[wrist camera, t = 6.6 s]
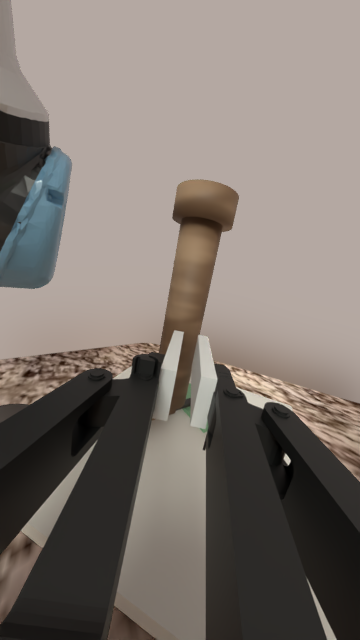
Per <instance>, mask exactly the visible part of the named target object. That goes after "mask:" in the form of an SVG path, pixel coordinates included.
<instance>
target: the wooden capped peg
mask: <svg viewBox="0 0 360 640" xmlns="http://www.w3.org/2000/svg"><path fill="white" fill-rule="evenodd" d="M238 199H239V196H238V194H237V193H236V191H234V190H233V189H231V188H230V187H228V186H226V185H223V184H221V183H218V182H214V181H208V180H188V181H184V182H182V183H180V184H179V185H178V187H177V192H176V198H175V204H174V211H173V220H174V221H176V222H177V223H179V224H181V225H180V231H179V237H178V243H177V249H176V256H175V261H174V267H173V273H172V279H171V285H170V291H169V297H168V302H167V309H166V314H165V321H164V326H163V332H162V338H161V344H160V350H159V354H164V355H166V352H167V349H168V347H169V344H170V341H171V338H172V335H173V333H174V330H176V331H181V332H184V334H183V340H182V345H181V351H180V357H179V362H178V368H177V373H176V379H175V384H174V389H173V394H172V399H171V405H170V410H169V415H171V414H174V413H175V412H176V411H177V410H180V409H183V408H186V407H189V406H191V398H188V399H186V395H187V391H188V386H189V381H190V377H191V372H192V362H193V358H194V353H195V348H196V343H197V338H198V335H200V330H201V325H202V320H203V316H204V311H205V307H206V302H207V298H208V293H209V288H210V284H211V279H212V274H213V270H214V265H215V260H216V255H217V251H218V247H219V242H220V237H221V233H222V232H225V231H229V230H231V229H232V226H233V222H234V217H235V213H236V208H237V204H238ZM27 406H29V405H25V404H8V405H2V406H0V423H1V422H3V421H4V420H6V419H8V418H9V417H11V416H13V415H14V414H16V413H17V412H19V411H21V410H22V409H24V408H26V407H27ZM152 417H153V416H152ZM152 420H155V419H154V418H152Z"/></svg>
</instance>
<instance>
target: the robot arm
mask: <svg viewBox="0 0 360 640" xmlns="http://www.w3.org/2000/svg"><path fill="white" fill-rule="evenodd" d="M71 169H72V162H71V159H70V158H69V157H68V156H67V155H66V154H64V153H63V152H62V151H61V149H60V148H57V147H53V148H51V146H50V139H49V114H48V112H47V110H46V109H45V107H44V106H43V104H42V103H41V101H40V100H39V98H38V96H37V95H36V93H35V92H34V90H33V89H32V87H31V86H30V84H29V83H28V81H27V80H26V78H25V77H24V75H23V74H22V72H21V70H20V66H19V63H18V60H17V56H16V50H15V39H14V28H13V18H12V8H11V0H0V287H13V288H14V287H15V288H29V289H35V288H40V287H42V286H44V285H46V284H48V283H49V282H50V281H51V279H52V277H53V275H54V271H55V266H56V261H57V256H58V250H59V245H60V239H61V234H62V227H63V221H64V216H65V209H66V203H67V197H68V191H69V183H70V175H71ZM183 334H184V332H181V331H176V330H174V333H173V335H172V338H171V341H170V344H169V347H168V349H167V352H166V355H164V354H159V353H154V352H151V353H149V354H140V355H137V356H135V357H134V358H133V362H132V370H131V375H130V377H129V378H126V379H112V373H111V372H110V371H108V370H105V369H101V368H95V369H90V370H87V371H85V372H83V373H81V374H80V375H78V376H76V377H75V378H73V379H71V380H70V381H68V382H66V383H65V384H63V385H62V386H60V387H58V388H57V389H55V390H53V391H52V392H50V393H48V394H47V395H45V396H44V397H42V398H40V399H39V400H37V401H35V402H34V403H32V404H30V405H29V406H27V407H26V408H24V409H22V410H21V411H19V412H17V413H16V414H14V415H13V416H11V417H9V418H8V419H6V420H4V421H3V422H1V423H0V554H1V553H2V552H3V551H4V550H5V549H6V547H7V546H8V545H9V544H10V543H11V541H12V540H13V539H14V538H15V537H16V536H17V534H18V533H19V532H20V531H21V530H22V528H23V527H24V526H25V525H26V524H27V522H28V521H29V520H30V519H31V518H32V517H33V515H34V514H35V513H36V512H37V511H38V509H39V508H40V507H41V506H42V505H43V504H44V502H45V501H46V500H47V499H48V498H49V496H50V495H51V494H52V493H53V492H54V491H55V489H56V488H57V487H58V486H59V485H60V483H61V482H62V481H63V480H64V479H65V478H66V476H67V475H68V474H69V473H70V472H71V470H72V469H73V468H74V467H75V466H76V465H77V463H78V462H79V461H80V460H81V459H82V457H83V456H84V455H85V454H86V453H87V451H88V450H89V449H90V448H91V447H92V446H93V444H94V443H95V442H96V441H97V442H96V444H95V446H94V448H93V450H92V452H91V454H90V456H89V458H88V460H87V462H86V464H85V466H84V468H83V470H82V472H81V474H80V476H79V478H78V480H77V482H76V484H75V486H74V488H73V490H72V491H71V493H70V495H69V497H68V499H67V501H66V503H65V505H64V507H63V509H62V511H61V513H60V515H59V517H58V519H57V521H56V523H55V525H54V527H53V529H52V531H51V533H50V535H49V537H48V539H47V541H46V543H45V545H44V547H43V549H42V551H41V553H40V555H39V557H38V559H37V561H36V563H35V565H34V567H33V569H32V571H31V573H30V575H29V576H28V578H27V580H26V582H25V584H24V586H23V588H22V590H21V592H20V594H19V596H18V598H17V600H16V602H15V604H14V605H13V607H12V609H11V611H10V612H9V614H8V615H7V617H6V618H5V620H4V621H3V622H2V623H1V624H0V640H107V637H108V632H109V627H110V622H111V617H112V612H113V608H114V603H115V598H116V593H117V588H118V583H119V578H120V573H121V568H122V564H123V559H124V554H125V549H126V544H127V539H128V534H129V529H130V524H131V520H132V515H133V510H134V505H135V500H136V495H137V490H138V485H139V480H140V476H141V471H142V466H143V461H144V456H145V451H146V446H147V441H148V437H149V432H150V427H151V421H152V418H154V419H159V420H163V421H167V420H168V415H169V410H170V405H171V399H172V394H173V389H174V384H175V379H176V373H177V368H178V362H179V357H180V351H181V345H182V340H183ZM152 416H153V417H152ZM207 420H208V430H207V434H206V438H205V442H204V446H203V450H204V451H205V449H206V640H327V637H326V634H325V631H324V629H323V626H322V623H321V620H320V617H319V614H318V611H317V608H316V605H315V602H314V599H313V596H312V593H311V590H310V587H309V584H308V581H309V583H310V586H311V588H312V590H313V592H314V594H315V596H316V598H317V600H318V602H319V604H320V606H321V608H322V610H323V613H324V615H325V617H326V619H327V621H328V623H329V625H330V627H331V629H332V631H333V633H334V635H335V637H336V639H337V640H360V482H359V481H358V480H357V479H356V478H355V477H354V476H353V474H352V473H351V472H350V471H349V470H348V469H347V468H346V467H345V466H344V465H343V464H342V463H341V462H340V461H339V460H338V459H337V458H336V457H335V455H334V454H333V453H332V452H331V451H330V450H329V449H328V448H327V447H326V446H325V445H324V444H323V443H322V442H321V441H320V440H319V439H318V437H317V436H316V435H315V434H314V433H313V432H312V431H311V430H310V429H309V428H308V427H307V426H306V425H305V424H304V423H303V422H302V421H301V420H300V418H299V417H298V416H297V415H296V414H295V413H294V412H293V411H291V410H290V409H289V408H287V407H285V406H284V405H282V404H280V403H275V402H267V403H265V405H264V408H263V409H262V408H259V407H257V406H254V405H252V404H250V403H248V401H247V398H246V396H245V394H244V393H243V392H242V391H240V390H239V389H237V388H236V386H235V384H234V381H233V379H232V376H231V373H230V370H229V369H228V368H227V367H226V366H224V365H218V364H214V362H213V357H212V353H211V349H210V344H209V340H208V337H207V336H202V335H198V338H197V343H196V348H195V353H194V358H193V362H192V372H191V411H190V426H192V427H197V428H202V429H205V428H206V424H207ZM285 454H287V456H288V457H289V459H290V460H291V462H290V464H289V465H288V464H287V463H286V462H285V460H284V456H285ZM306 577H307V578H306ZM307 579H308V581H307Z"/></svg>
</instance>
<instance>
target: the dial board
mask: <svg viewBox="0 0 360 640" xmlns="http://www.w3.org/2000/svg"><path fill="white" fill-rule="evenodd" d="M131 370H132V366H131V367H129V368H128V369H126V370H125V371H123V372H122V373H120V374H119V375H117V376H116V377H114V378H113V379H126V378H129V377H130V375H131ZM237 389H239V388H237ZM239 390H240V391H242V392H243V393H244V394H245V396H246V398H247V401H248V403H250V404H252V405H254V406H257V407H259V408H262V409H263V408H264V405H265V403H267V402H275V403H280V402H278V401H275V400H272V399H269V398H266V397H263V396H260V395H257V394H254V393H251V392H248V391H245V390H242V389H239ZM188 398H191V377H190V381H189V386H188V391H187V395H186V399H188ZM280 404H282V405H284V406H285V407H287V408H289V409H290V410H291V411H293V410H292V407H291V406H289V405H286V404H283V403H280ZM190 411H191V406H189V407H186V408H183V409H180V410H177V411H176V412H175V413H174V414H171V415H168V420H167V421H163V420H159V419H155V420H152V421H151V427H150V432H149V437H148V441H147V446H146V451H145V456H144V461H143V466H142V471H141V476H140V480H139V485H138V490H137V495H136V500H135V505H134V510H133V515H132V520H131V524H130V529H129V534H128V539H127V544H126V549H125V554H124V559H123V564H122V568H121V573H120V578H119V583H118V588H117V593H116V598H115V603H114V606H115V607H116V608H118V609H119V610H120V611H121V612H123V613H124V614H125V615H126V616H128V617H129V618H130V619H131V620H133V621H134V622H135V623H136V624H138V625H139V626H140V627H141V628H143V629H144V630H145V631H146V632H148V633H149V634H150V635H151V636H153V637H154V638H155V639H156V640H206V449H205V451H204V450H203V446H204V442H205V438H206V434H207V430H208V420H207V424H206V428H205V429H202V428H197V427H192V426H190ZM96 442H97V441H96ZM96 442H95V443H94V444H93V446H92V447H91V448H90V449H89V450H88V451H87V453H86V454H85V455H84V456H83V457H82V459H81V460H80V461H79V462H78V463H77V465H76V466H75V467H74V468H73V469H72V470H71V472H70V473H69V474H68V475H67V476H66V478H65V479H64V480H63V481H62V482H61V483H60V485H59V486H58V487H57V488H56V489H55V491H54V492H53V493H52V494H51V495H50V496H49V498H48V499H47V500H46V501H45V502H44V504H43V505H42V506H41V507H40V508H39V509H38V511H37V512H36V513H35V514H34V515H33V517H32V518H31V519H30V520H29V521H28V522H27V524H26V525H25V526H24V527H23V528H22V530H21V532H23V533H24V534H25V535H26V536H28V537H29V538H30V539H31V540H33V541H34V542H35V543H36V544H38V545H39V546H40V547H41V548H43V547H44V545H45V543H46V541H47V539H48V537H49V535H50V533H51V531H52V529H53V527H54V525H55V523H56V521H57V519H58V517H59V515H60V513H61V511H62V509H63V507H64V505H65V503H66V501H67V499H68V497H69V495H70V493H71V491H72V490H73V488H74V486H75V484H76V482H77V480H78V478H79V476H80V474H81V472H82V470H83V468H84V466H85V464H86V462H87V460H88V458H89V456H90V454H91V452H92V450H93V448H94V446H95V444H96ZM284 460H285V462H286V463H287V464H288V465H289V464H290V462H291V460H290V459H289V457H288V456H287V454H285V456H284ZM306 578H307V577H306ZM307 581H308V579H307ZM308 584H309V587H310V590H311V593H312V596H313V599H314V602H315V605H316V608H317V611H318V614H319V617H320V620H321V623H322V626H323V629H324V631H325V634H326V637H327V640H337V639H336V637H335V635H334V633H333V631H332V629H331V627H330V625H329V623H328V621H327V619H326V617H325V615H324V613H323V610H322V608H321V606H320V604H319V602H318V600H317V598H316V596H315V594H314V592H313V590H312V588H311V586H310V583H309V581H308Z"/></svg>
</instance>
